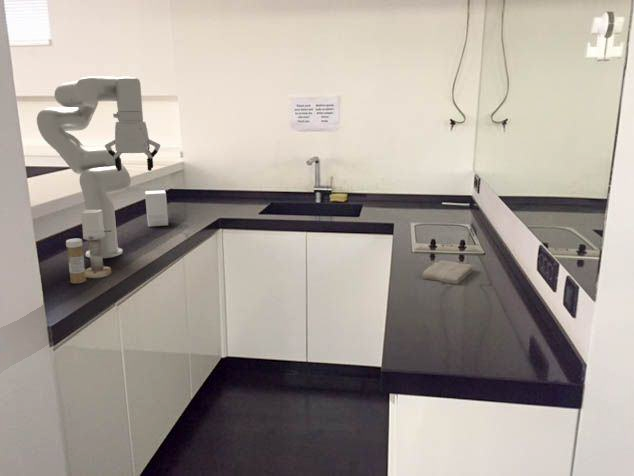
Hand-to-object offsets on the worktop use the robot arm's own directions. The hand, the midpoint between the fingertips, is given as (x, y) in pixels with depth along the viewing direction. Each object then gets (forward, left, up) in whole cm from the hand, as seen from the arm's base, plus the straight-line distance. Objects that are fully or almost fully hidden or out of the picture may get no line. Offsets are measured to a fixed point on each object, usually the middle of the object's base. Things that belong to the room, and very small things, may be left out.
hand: (134, 170), depth 176 cm
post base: (+10, -12, -32) cm, 36 cm away
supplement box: (-64, -5, -33) cm, 72 cm away
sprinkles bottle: (+17, -16, -32) cm, 40 cm away
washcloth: (+22, +101, -33) cm, 109 cm away
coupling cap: (+10, -11, -20) cm, 25 cm away
